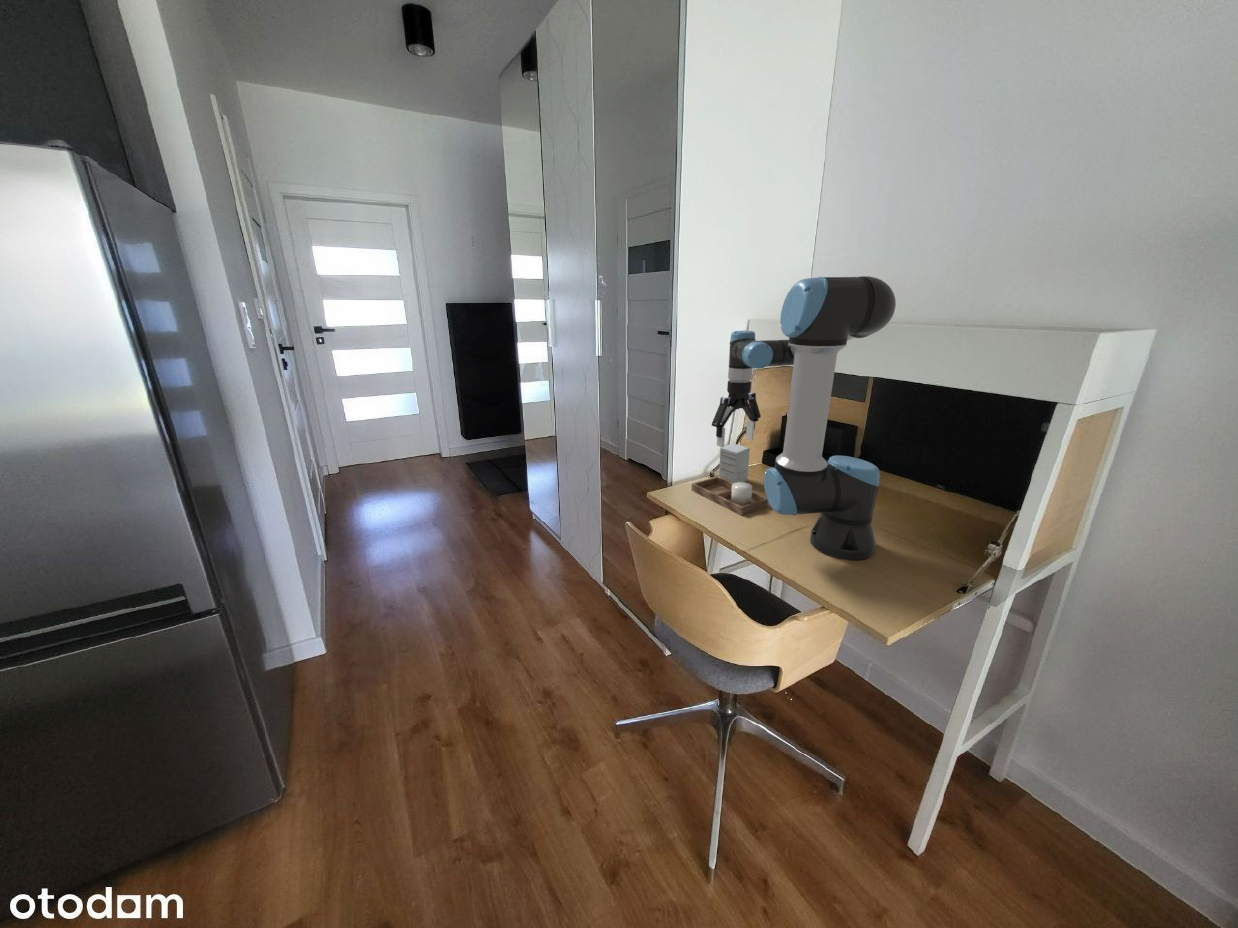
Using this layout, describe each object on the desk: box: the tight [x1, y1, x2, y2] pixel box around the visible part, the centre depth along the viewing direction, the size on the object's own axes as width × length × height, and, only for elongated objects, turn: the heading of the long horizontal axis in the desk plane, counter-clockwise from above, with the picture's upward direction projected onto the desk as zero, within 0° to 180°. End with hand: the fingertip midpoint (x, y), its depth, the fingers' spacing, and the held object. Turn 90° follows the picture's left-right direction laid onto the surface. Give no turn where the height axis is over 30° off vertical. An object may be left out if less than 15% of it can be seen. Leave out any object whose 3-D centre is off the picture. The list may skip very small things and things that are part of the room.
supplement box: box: [718, 443, 751, 483], centre depth 158 cm, size 7×7×13 cm
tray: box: [691, 475, 770, 516], centre depth 146 cm, size 22×12×3 cm, turn 32°
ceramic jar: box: [731, 482, 753, 506], centre depth 141 cm, size 6×6×6 cm
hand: (735, 442), depth 156 cm, fingers open, 13 cm apart
